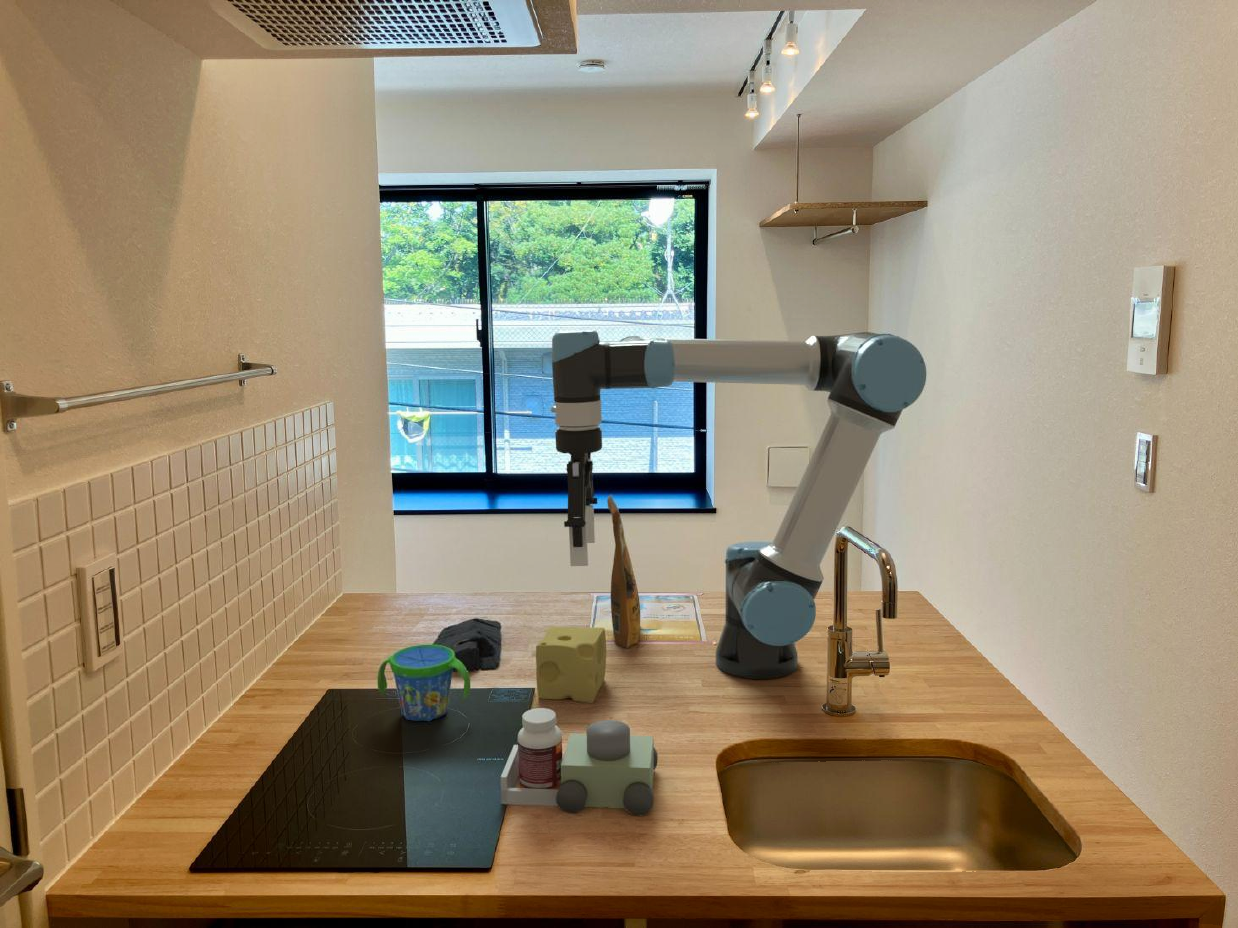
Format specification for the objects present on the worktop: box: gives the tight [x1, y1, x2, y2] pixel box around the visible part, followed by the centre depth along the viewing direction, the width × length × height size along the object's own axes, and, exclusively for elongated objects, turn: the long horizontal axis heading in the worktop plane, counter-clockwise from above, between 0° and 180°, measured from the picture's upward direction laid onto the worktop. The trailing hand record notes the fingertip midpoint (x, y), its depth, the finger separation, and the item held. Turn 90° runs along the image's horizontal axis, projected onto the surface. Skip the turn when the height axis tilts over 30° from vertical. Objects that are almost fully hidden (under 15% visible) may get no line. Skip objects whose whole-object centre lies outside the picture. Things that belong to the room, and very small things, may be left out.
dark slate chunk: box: [431, 617, 502, 673], centre depth 180 cm, size 15×22×5 cm
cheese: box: [535, 625, 607, 704], centre depth 160 cm, size 10×11×10 cm
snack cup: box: [376, 644, 471, 722], centre depth 152 cm, size 16×10×10 cm
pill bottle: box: [517, 707, 563, 789], centre depth 128 cm, size 6×6×11 cm
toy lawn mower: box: [500, 719, 659, 817], centre depth 128 cm, size 21×12×9 cm, turn 85°
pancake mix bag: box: [606, 493, 641, 649], centre depth 185 cm, size 7×19×28 cm, turn 178°
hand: (583, 553), depth 152 cm, fingers open, 13 cm apart
